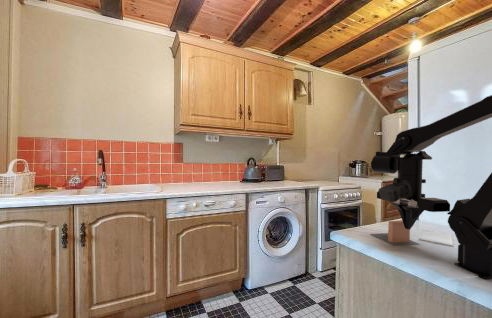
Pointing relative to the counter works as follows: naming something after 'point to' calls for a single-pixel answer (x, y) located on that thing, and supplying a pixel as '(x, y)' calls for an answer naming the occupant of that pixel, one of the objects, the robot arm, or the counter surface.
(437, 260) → the counter surface
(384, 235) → the mat
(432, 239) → the hard drive
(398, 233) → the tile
